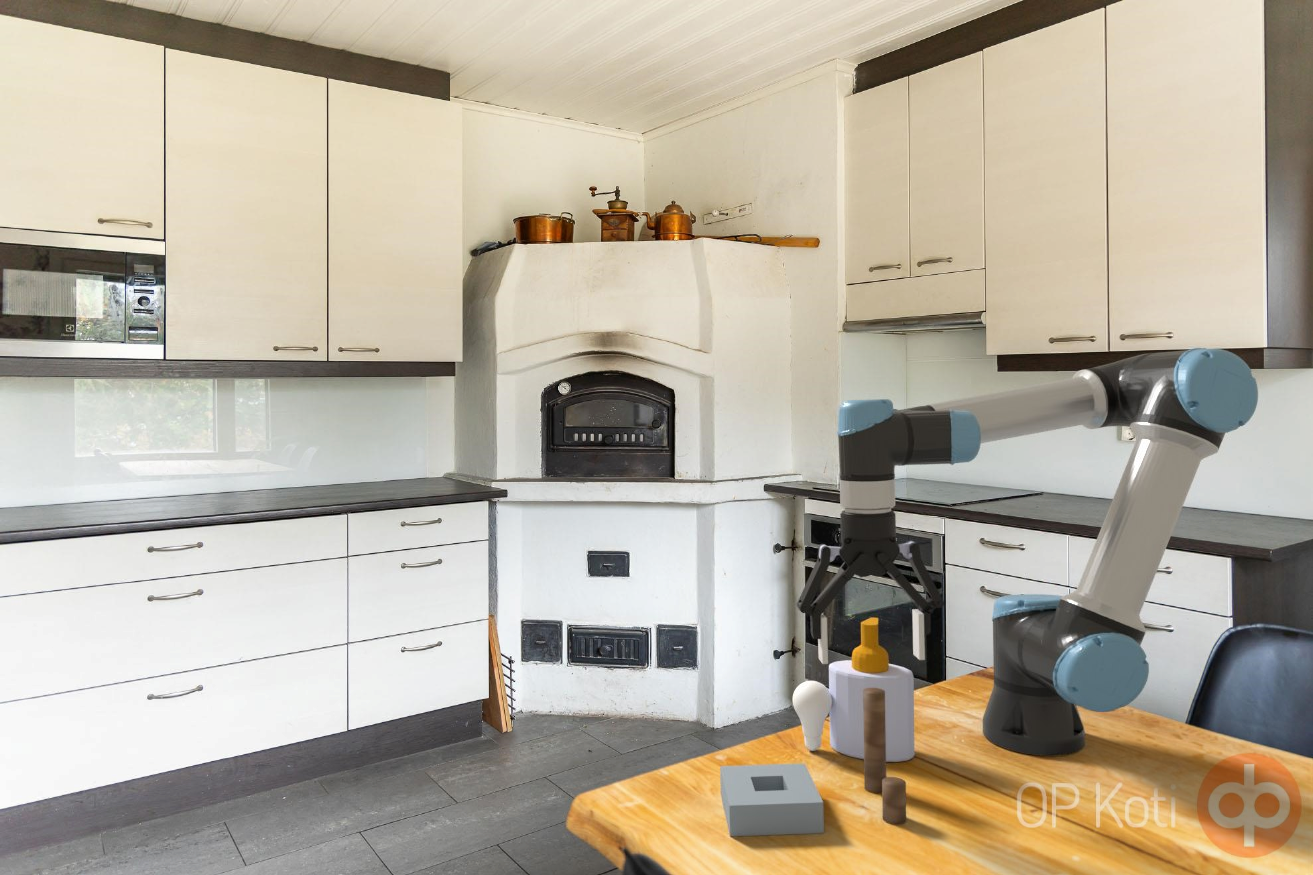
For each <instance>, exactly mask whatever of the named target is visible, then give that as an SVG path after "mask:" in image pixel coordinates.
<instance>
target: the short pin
mask: <svg viewBox="0 0 1313 875" xmlns="http://www.w3.org/2000/svg"><path fill="white" fill-rule="evenodd" d="M906 784H907V782H906V781H905V780H904V779H903V778H899V777H896V776H886V778H884V779H883V780H882V793H881V794H882V795H881V797H882V800H881V801H882V802H881V803H882V804H881V805H882V810H881V811H882V820H883V821H884V822H885V823H887V824H890V825H894V826H896V825H897V826H899V825H903V824H905V823H906V822H907V785H906Z"/></svg>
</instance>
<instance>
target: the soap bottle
mask: <svg viewBox="0 0 1313 875" xmlns="http://www.w3.org/2000/svg"><path fill="white" fill-rule="evenodd" d="M889 662H890V661H889V653H888V651H887V650H886V649H885V648H884V647H883V646H881V645H879V617H869V618H867V619H865V620H863V621H861V622H860V645H859V646H857V647H855V648H854V649H853V650H852V653H851V659H849V660H847V659H846V660H840V661H839V660H837V661H833V662H832V663H829V665H828V690H829V692H830V694H831V698H832V706H831V709H830V712H829V745H830V747H831V749H832V750H835V751H836V752H837V753H840V754H843V755H845V756H848V757H852V758H856V759H862V760H864V718H863V690H864V689H866V688H879V689H882V690H884V691H885V729H886V763H889V762H891V763H898V762H905V761H910V760H911V759H913V758H914V757H915V688H914V687H915V685H914V684H915V682H914V680H915V679H914V674H913V671H912V670H910V669H908V668H906V667H904V666H900V665H896V664H891V663H889Z"/></svg>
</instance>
